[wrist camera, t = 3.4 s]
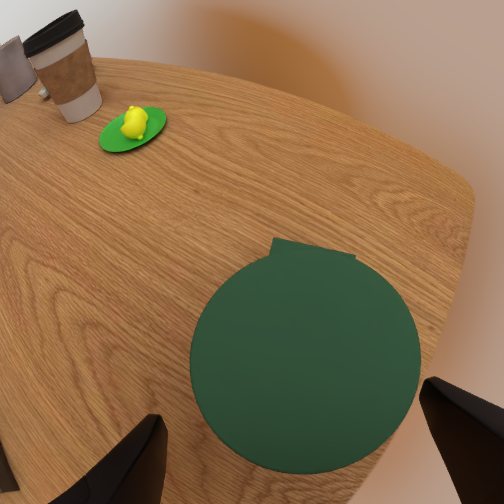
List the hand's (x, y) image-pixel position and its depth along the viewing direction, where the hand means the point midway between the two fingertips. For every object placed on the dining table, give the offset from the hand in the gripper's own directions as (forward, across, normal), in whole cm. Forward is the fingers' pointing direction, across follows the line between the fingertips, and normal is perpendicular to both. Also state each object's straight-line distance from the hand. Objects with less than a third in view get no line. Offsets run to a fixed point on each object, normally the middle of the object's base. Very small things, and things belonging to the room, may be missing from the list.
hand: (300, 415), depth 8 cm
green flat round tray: (+26, +13, -13) cm, 32 cm away
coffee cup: (+32, +22, -19) cm, 43 cm away
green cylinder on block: (+9, -1, +3) cm, 10 cm away
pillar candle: (+48, +50, -35) cm, 78 cm away
